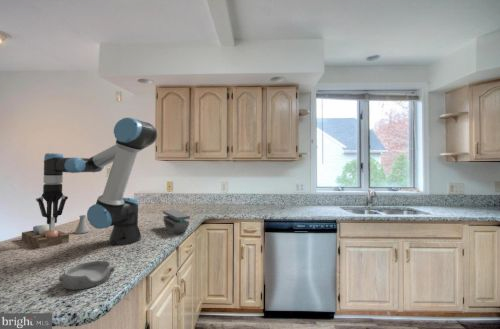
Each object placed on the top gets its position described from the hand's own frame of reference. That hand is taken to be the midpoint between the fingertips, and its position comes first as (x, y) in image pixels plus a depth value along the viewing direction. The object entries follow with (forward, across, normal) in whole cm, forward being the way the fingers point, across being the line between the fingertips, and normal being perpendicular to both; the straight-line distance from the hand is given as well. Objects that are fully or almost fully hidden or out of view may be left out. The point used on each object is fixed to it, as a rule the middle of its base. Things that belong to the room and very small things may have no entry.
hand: (51, 230), depth 123 cm
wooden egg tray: (+7, 0, -8) cm, 10 cm away
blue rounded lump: (+5, 0, -16) cm, 17 cm away
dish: (+7, +10, +58) cm, 59 cm away
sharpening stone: (+7, -53, +31) cm, 62 cm away
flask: (+7, -19, -11) cm, 23 cm away
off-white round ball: (+4, 0, -8) cm, 9 cm away
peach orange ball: (+5, 0, 0) cm, 5 cm away
